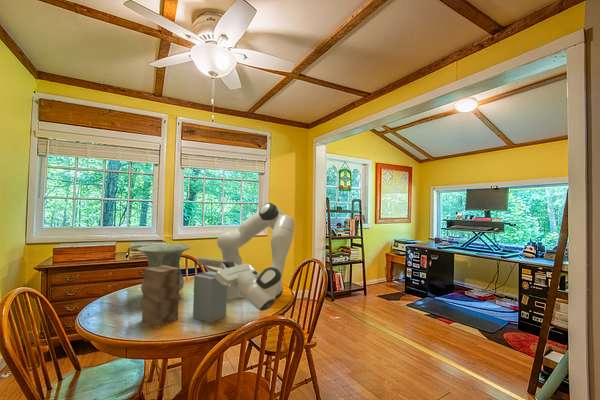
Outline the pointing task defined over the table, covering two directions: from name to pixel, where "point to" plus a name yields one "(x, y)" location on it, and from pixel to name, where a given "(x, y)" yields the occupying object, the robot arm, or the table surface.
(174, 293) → the walnut pillar
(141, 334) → the table surface
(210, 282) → the slate block
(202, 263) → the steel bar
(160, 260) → the vessel
